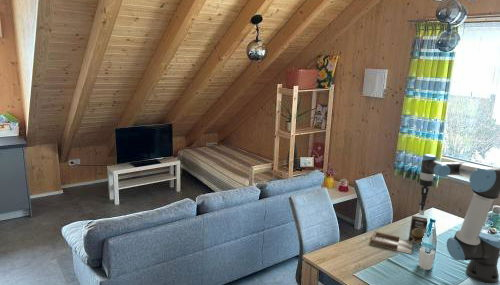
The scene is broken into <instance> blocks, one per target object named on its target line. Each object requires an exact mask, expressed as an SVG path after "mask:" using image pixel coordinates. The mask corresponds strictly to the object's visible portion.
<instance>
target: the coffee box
mask: <svg viewBox="0 0 500 285" xmlns="http://www.w3.org/2000/svg"><path fill="white" fill-rule="evenodd" d="M427 227H428V218H427V217H421V216H416V215H411V220H410V228H409V233H408V242H412V243H413V244H416V245H421V242H422V238H423V236H424V233H425V232H426V233H427Z"/></svg>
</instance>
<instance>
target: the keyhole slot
mask: <svg viewBox="0 0 500 285" xmlns="http://www.w3.org/2000/svg"><path fill="white" fill-rule="evenodd" d="M413 244H414V243H412V242H409V240H408V241H407V240H402V239H400V236H398V235H394V234H389V233H384V232H381V231H376V230H375V231H374V232H373V234H372V236H371V239H370V245H373V246H377V247H381V248H386V249H389V250H394V251H396V252H399V253H403V252H405V253H404V254H407V253H409V254H408V255H412V250H413Z"/></svg>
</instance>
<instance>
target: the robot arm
mask: <svg viewBox="0 0 500 285" xmlns="http://www.w3.org/2000/svg"><path fill="white" fill-rule="evenodd" d="M420 167H421V168H420V173H419V174H420V175H419V182H418V183H419V185H420V186H422V187H421V190H420V192H421V198H420V203H418V204H419V205H420V206H419V212H418V215H419V216H424V215H425V209H426V202H427V201H426V200H427V198H428V193H429V189H430V187H432V186H433V184H434V177H435V176H438V177H440V178H445V177H447V176H459V177H460V176H462V177H465V178H466V177H467V178H469V186H470V188H471V191H472V193H473V195H472V197H471V200H470V203H469V205H468V208H467V211H466V213H465V217H464V219H463V222H462V224H461V226H460V227H461V228H460V229H459V230H456V231H455V234H454V237H449V238H448V239H447V241H446V250H447V252H448V254H449V256H450V257H451V258H452V259H453V260H455V261H461V262H464V261H469V263H468V264H467V265H466V268H465V272H466V274H467V275H468V276H469V277H470V278H473V279H474V280H477V281H479V282H482V283H487V284H495V283H498V282H499V277H500V275H499V274H500V273H499V270H498V262H499V257H500V239H499V238H498V237H496V236H494V235H492V234H489V233H487V232H482V229H483V227H484V224H485V222H486V219H487V217H488V214H489V212H490V210H491V207H492V204H493V202H494V201H495V200H498V199H499V198H500V167H489V166H482V165H477V164H471V163H469V162H465V161H457V162H450V161H445V162H444V161H443V162H442V161H438V160H437V156H436V155H435V154H430V153H426V154H424V155H423V156H422V159H421V166H420Z"/></svg>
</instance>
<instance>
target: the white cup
mask: <svg viewBox="0 0 500 285" xmlns="http://www.w3.org/2000/svg"><path fill="white" fill-rule="evenodd" d="M425 247H426V246H423V247H420V248H419V253H418V254H419V255H418V266H420V267H419V268H421V269H422V268H423V269H422V270H429V271H430V270H432V269H431V268H433V265H434V260H435V255H436V251H435V249H432V248H431V249H432V250H431V253H430V254H427V253H424V252H425Z"/></svg>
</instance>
